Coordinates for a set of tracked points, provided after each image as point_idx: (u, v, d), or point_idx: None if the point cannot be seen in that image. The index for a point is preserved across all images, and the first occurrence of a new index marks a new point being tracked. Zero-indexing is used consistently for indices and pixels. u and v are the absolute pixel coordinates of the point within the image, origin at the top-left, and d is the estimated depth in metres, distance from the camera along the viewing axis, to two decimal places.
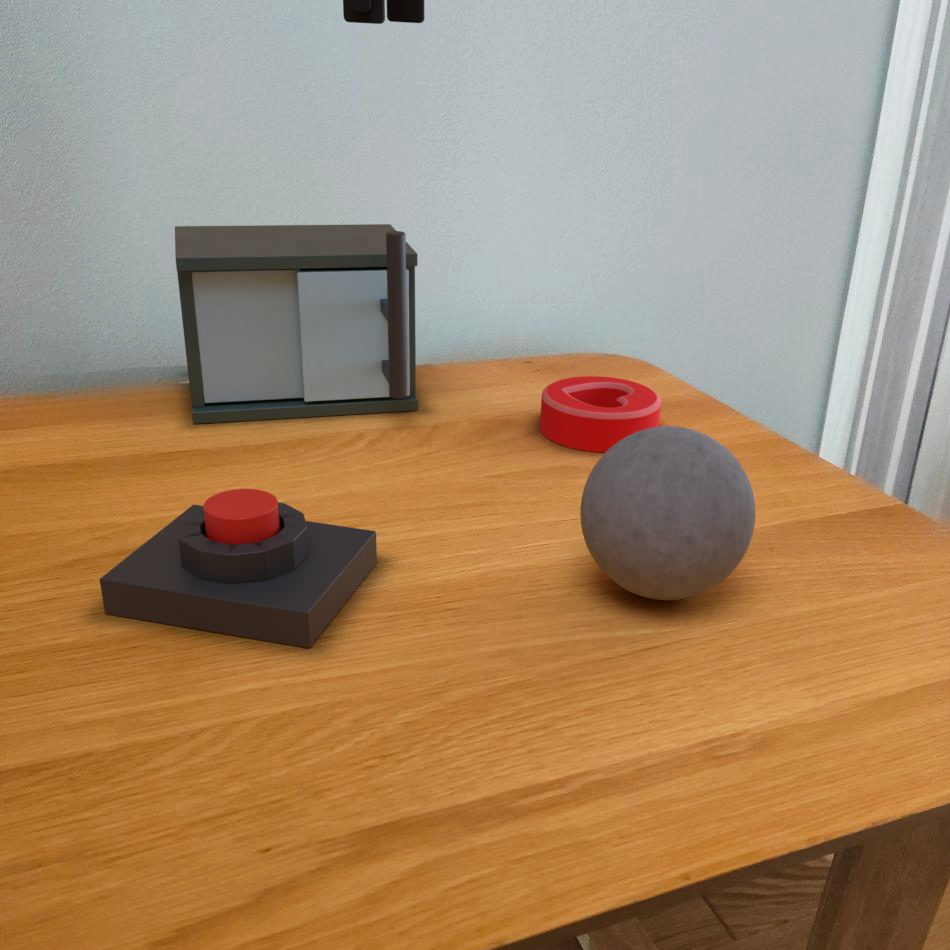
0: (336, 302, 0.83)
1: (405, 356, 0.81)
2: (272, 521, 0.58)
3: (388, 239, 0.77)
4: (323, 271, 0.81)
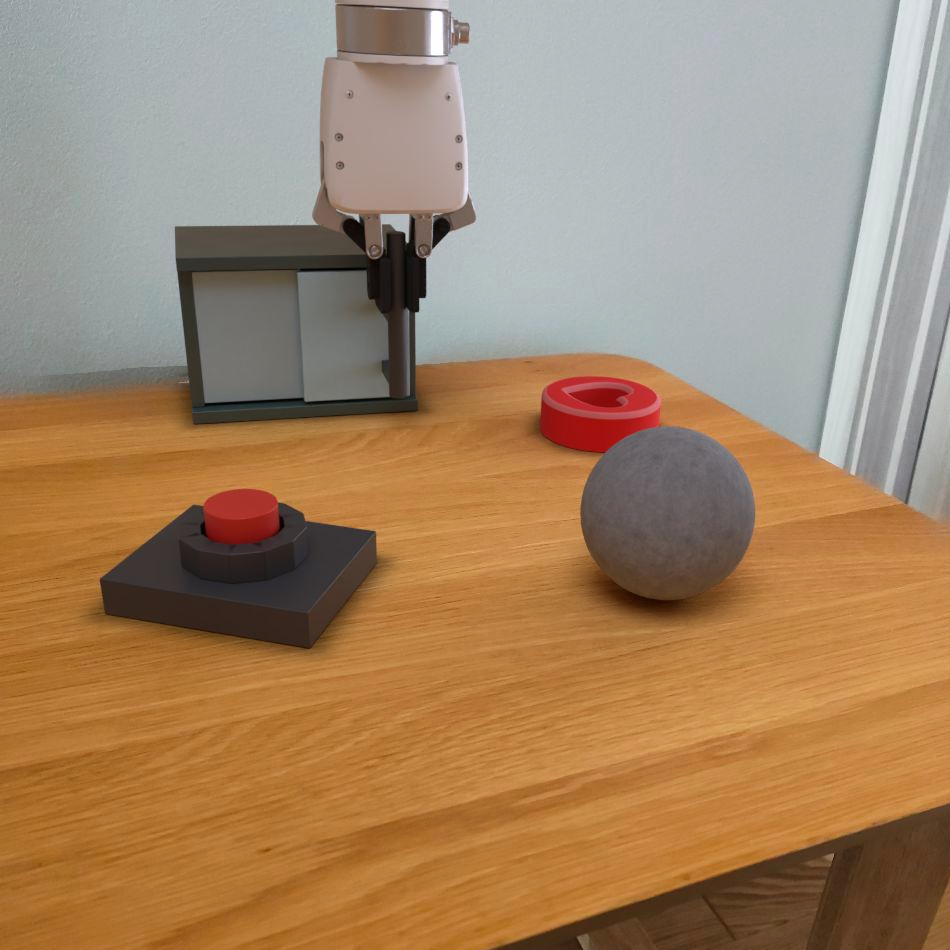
0: (337, 302, 0.83)
1: (405, 356, 0.81)
2: (272, 521, 0.58)
3: (388, 239, 0.77)
4: (323, 271, 0.81)
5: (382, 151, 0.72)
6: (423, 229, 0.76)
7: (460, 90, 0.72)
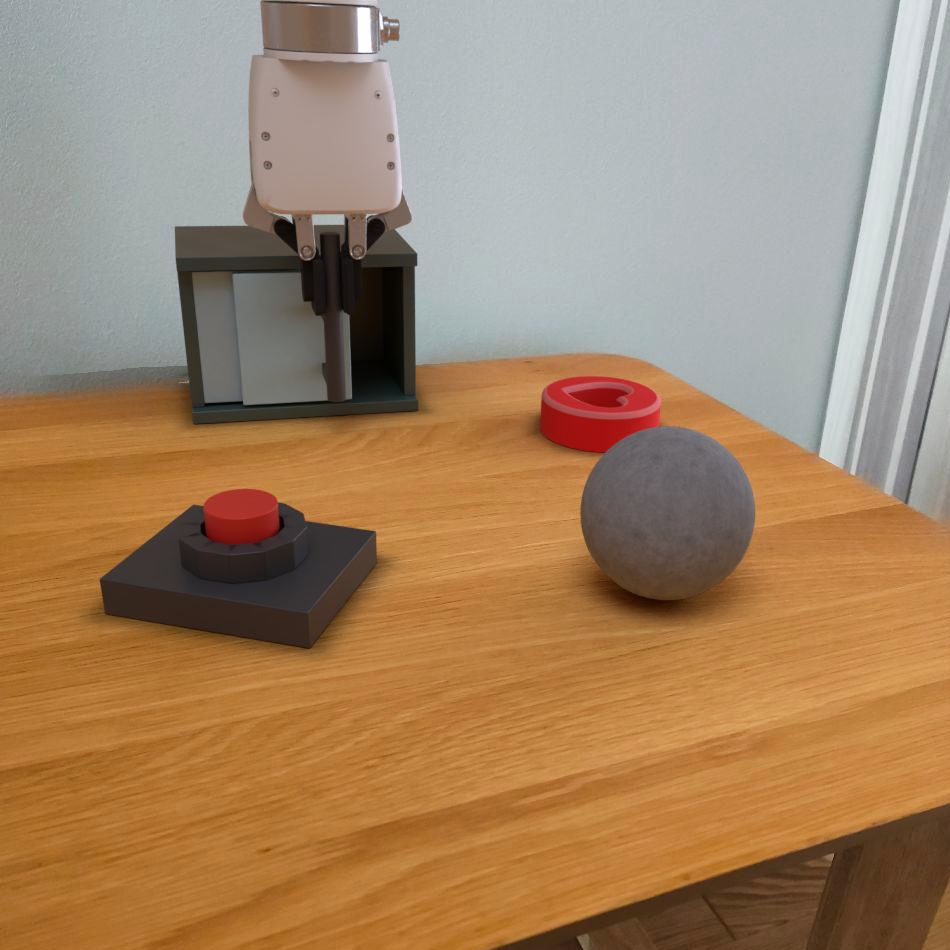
0: (274, 304, 0.81)
1: (342, 359, 0.80)
2: (272, 521, 0.58)
3: (321, 240, 0.75)
4: (259, 272, 0.80)
5: (311, 150, 0.71)
6: (356, 230, 0.75)
7: (391, 88, 0.71)
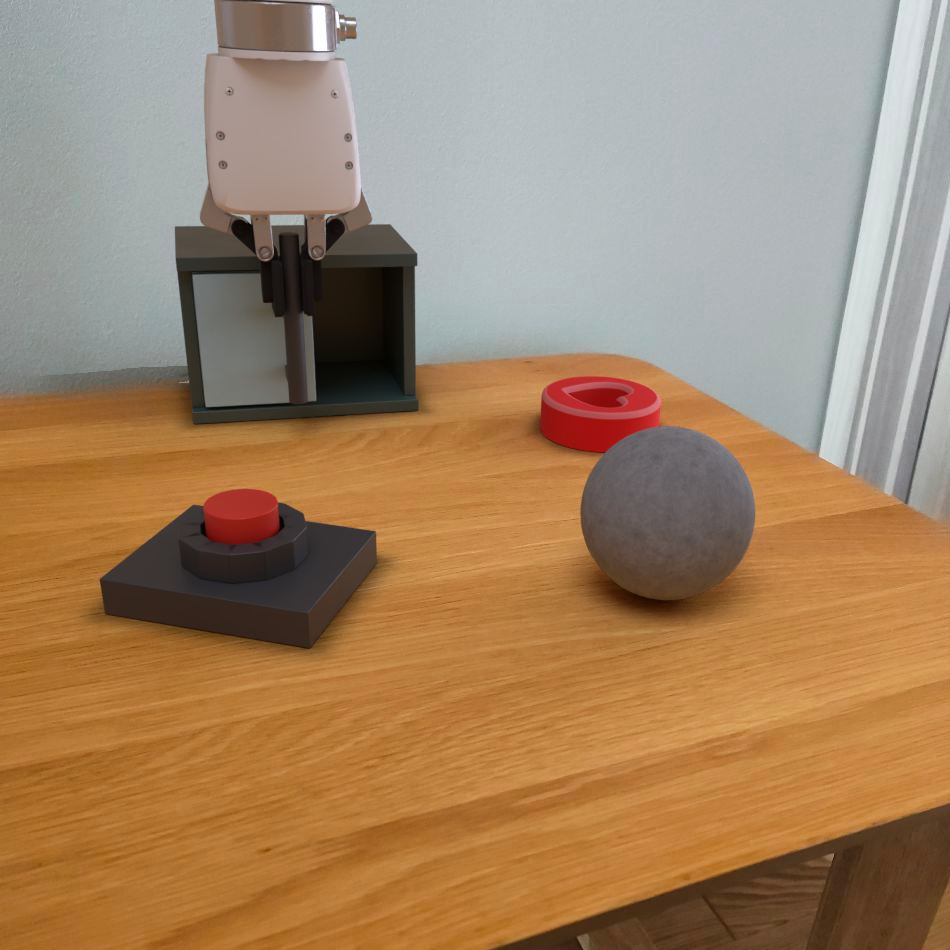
0: (235, 306, 0.81)
1: (303, 361, 0.79)
2: (272, 521, 0.58)
3: (280, 240, 0.75)
4: (219, 273, 0.79)
5: (266, 150, 0.70)
6: (315, 230, 0.74)
7: (348, 86, 0.70)
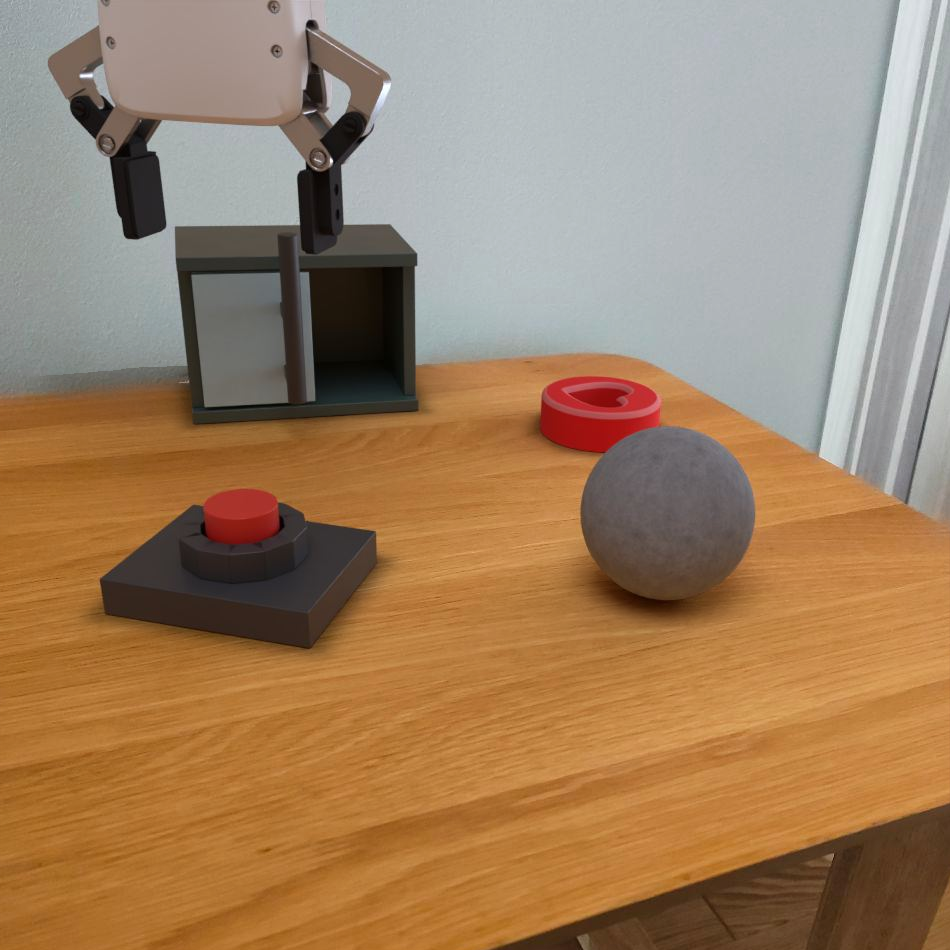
0: (234, 306, 0.80)
1: (302, 361, 0.79)
2: (272, 521, 0.58)
3: (279, 241, 0.75)
4: (218, 273, 0.79)
5: (161, 22, 0.48)
6: (297, 133, 0.50)
7: None
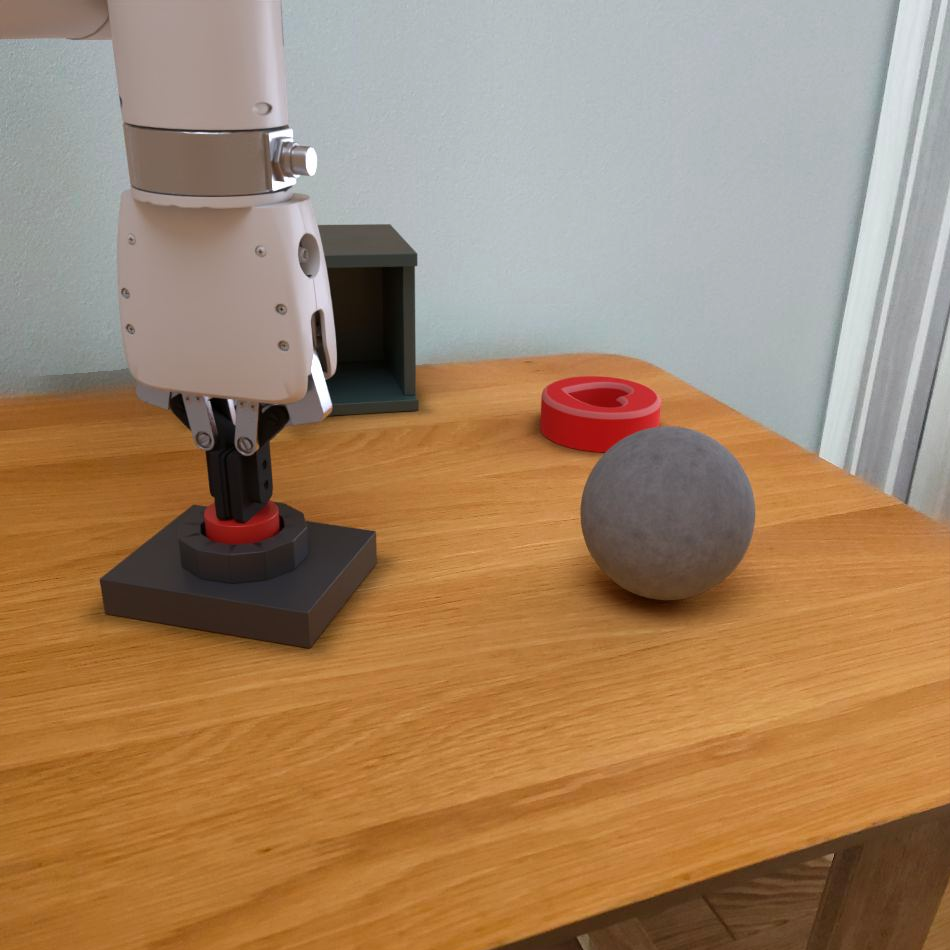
0: None
1: None
2: (272, 528, 0.59)
3: None
4: None
5: (176, 317, 0.52)
6: (245, 419, 0.55)
7: (283, 242, 0.50)
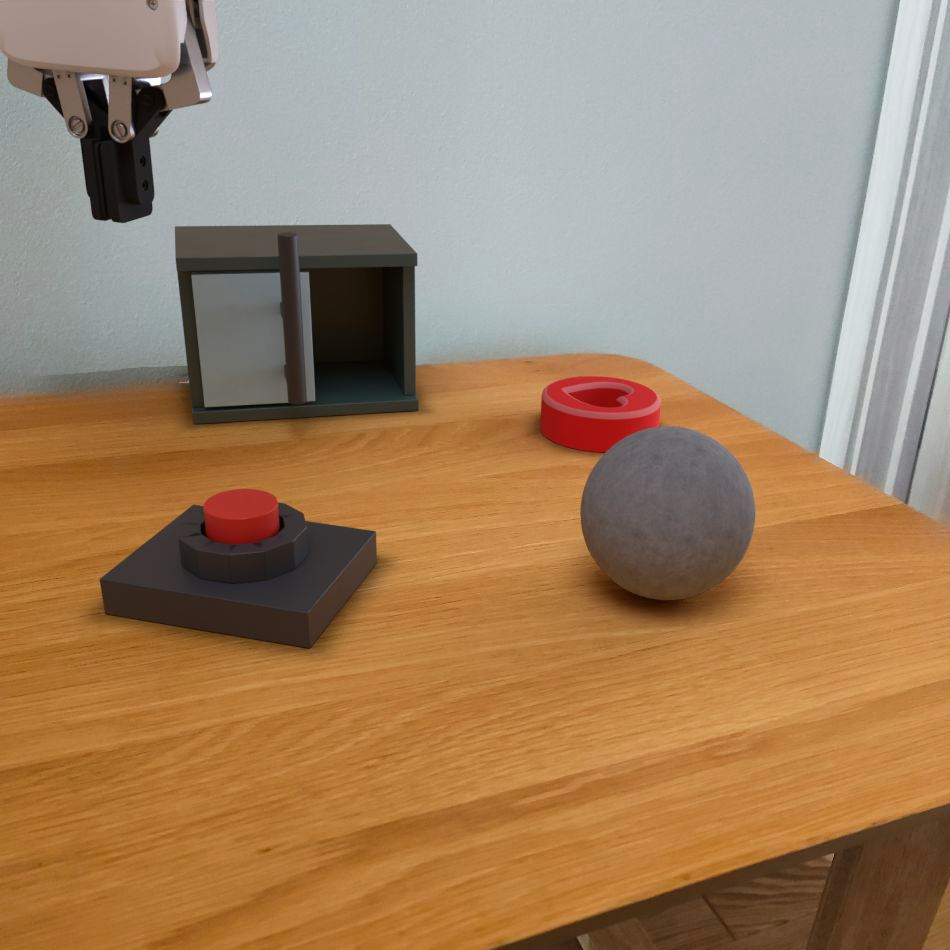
0: (234, 306, 0.80)
1: (302, 361, 0.79)
2: (272, 521, 0.58)
3: (279, 241, 0.75)
4: (218, 273, 0.79)
5: None
6: (118, 99, 0.52)
7: None
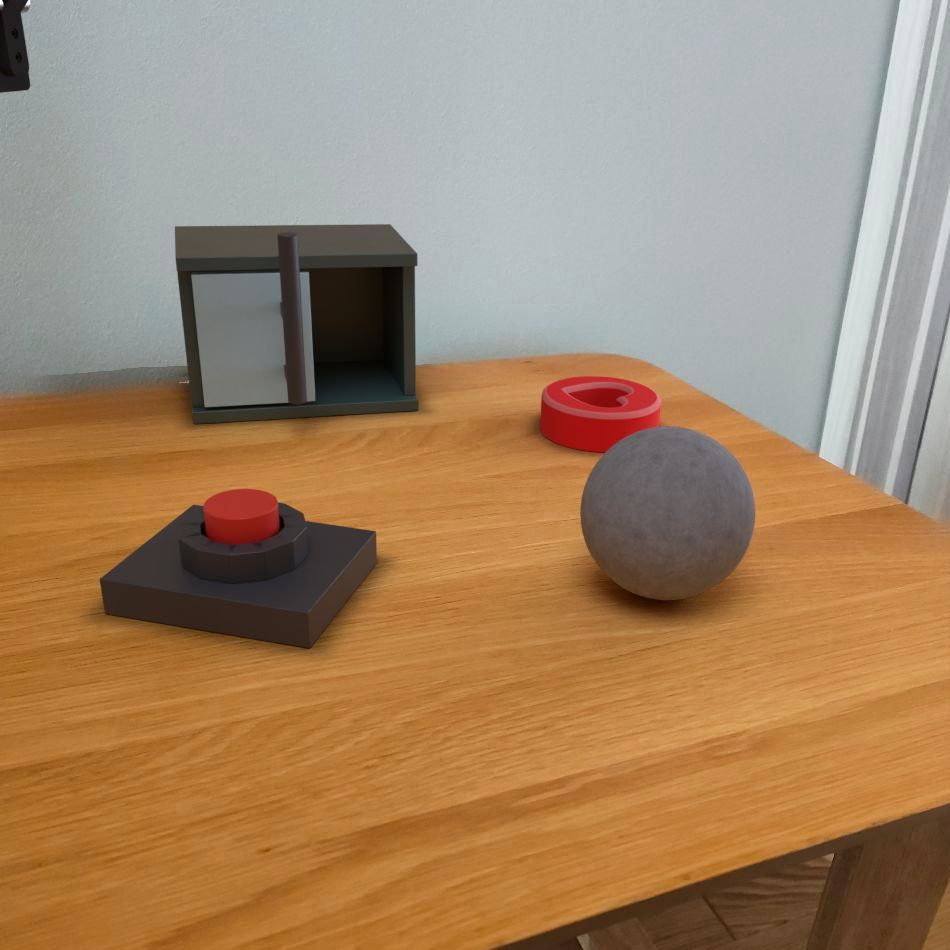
0: (234, 306, 0.80)
1: (302, 361, 0.79)
2: (272, 521, 0.58)
3: (279, 241, 0.75)
4: (218, 273, 0.79)
5: None
6: None
7: None
